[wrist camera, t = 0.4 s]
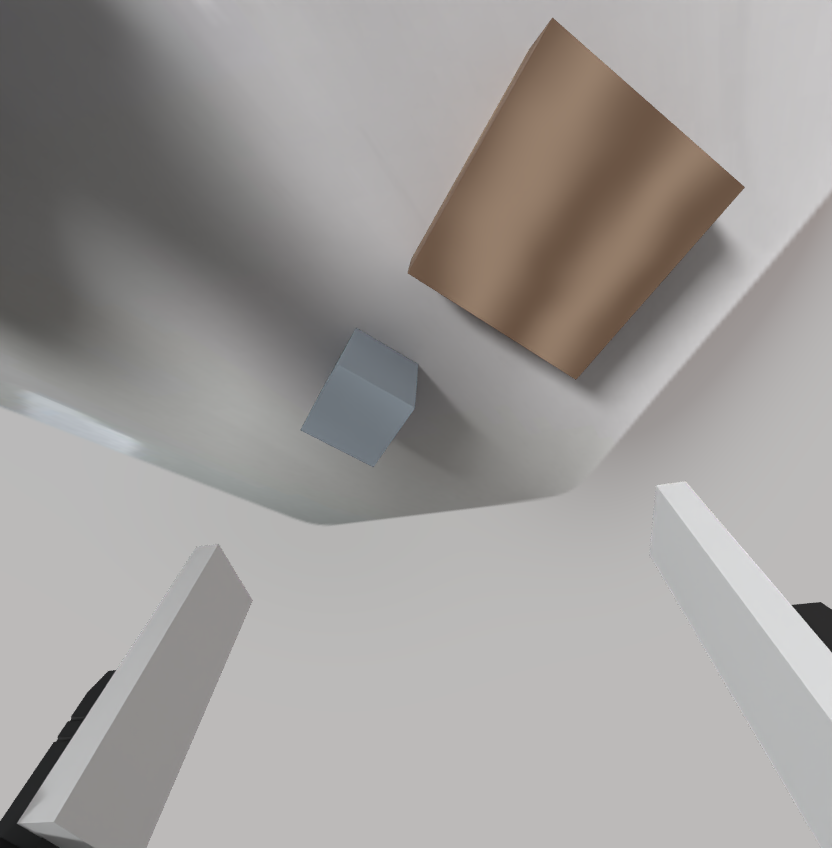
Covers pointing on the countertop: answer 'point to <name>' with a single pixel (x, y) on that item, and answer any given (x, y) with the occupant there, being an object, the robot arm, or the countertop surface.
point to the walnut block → (569, 207)
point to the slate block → (364, 399)
